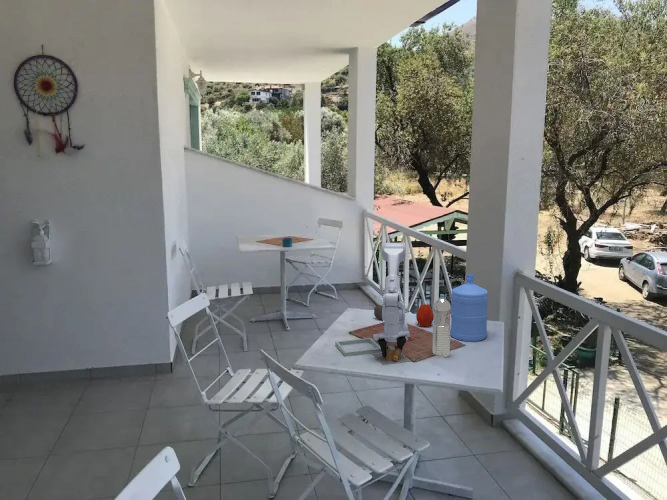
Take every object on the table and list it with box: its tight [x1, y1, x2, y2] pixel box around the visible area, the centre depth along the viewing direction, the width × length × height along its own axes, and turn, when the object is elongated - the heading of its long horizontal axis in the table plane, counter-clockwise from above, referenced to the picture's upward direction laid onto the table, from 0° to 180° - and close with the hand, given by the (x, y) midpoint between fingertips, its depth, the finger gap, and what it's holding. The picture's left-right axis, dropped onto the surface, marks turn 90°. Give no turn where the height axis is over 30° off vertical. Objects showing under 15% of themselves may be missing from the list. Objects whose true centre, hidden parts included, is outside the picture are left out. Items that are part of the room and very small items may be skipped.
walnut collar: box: [385, 344, 402, 361], centre depth 210 cm, size 6×8×4 cm
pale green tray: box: [334, 337, 382, 358], centre depth 222 cm, size 16×14×2 cm
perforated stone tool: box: [373, 304, 383, 321], centre depth 263 cm, size 15×5×7 cm, turn 59°
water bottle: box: [432, 293, 452, 358], centre depth 214 cm, size 7×7×25 cm
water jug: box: [450, 273, 489, 342], centre depth 236 cm, size 16×16×28 cm
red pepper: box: [415, 303, 434, 328], centre depth 254 cm, size 8×8×11 cm
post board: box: [371, 345, 413, 366], centre depth 211 cm, size 12×12×6 cm
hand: (391, 355), depth 211 cm, fingers closed on walnut collar, 6 cm apart
